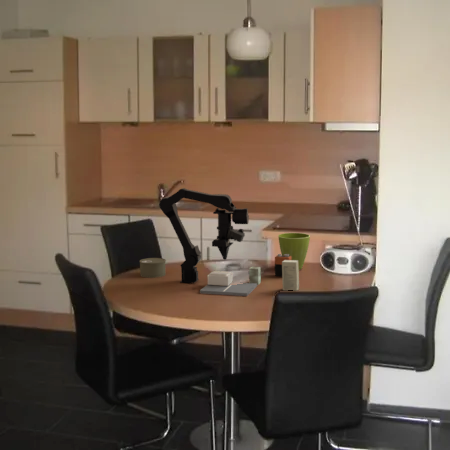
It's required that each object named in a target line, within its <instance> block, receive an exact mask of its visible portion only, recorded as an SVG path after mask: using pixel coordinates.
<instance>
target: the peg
mask: <svg viewBox="0 0 450 450" xmlns="http://www.w3.org/2000/svg"><path fill="white" fill-rule="evenodd" d="M248 278H249V280H248V281H249V282H248V283H257V286H259V285H260V284H261V282H262V281H261V280H262V279H261V266H251V267H249V268H248Z"/></svg>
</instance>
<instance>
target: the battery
mask: <svg viewBox="0 0 450 450" xmlns="http://www.w3.org/2000/svg"><path fill="white" fill-rule="evenodd" d="M284 260H292V257H291V256H289V254H284V255H282V254H280V253H277V255H276V256H274V277H278V278H279V277H281V278H282V262H283V261H284Z"/></svg>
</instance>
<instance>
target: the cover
mask: <svg viewBox="0 0 450 450" xmlns="http://www.w3.org/2000/svg"><path fill="white" fill-rule="evenodd" d="M233 273H234V272H230V271H222V270H220V271H219V270H214V271H211V272H210V273H209V274H207V285H224V286H228V285H230V284H231V283H232V281H233V282H234V280H233V278H234V275H233Z"/></svg>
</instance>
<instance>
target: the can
mask: <svg viewBox="0 0 450 450" xmlns="http://www.w3.org/2000/svg"><path fill="white" fill-rule="evenodd" d="M166 261H167V260H166V259H165V258H161V257H148V258H142V259H140V260H139V270H140V271H139V272H140V277H143V278H148V279H149V278H150V279H152V278H160V277H161V278H162V277H165V276H166V274H167V273H166Z"/></svg>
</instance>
